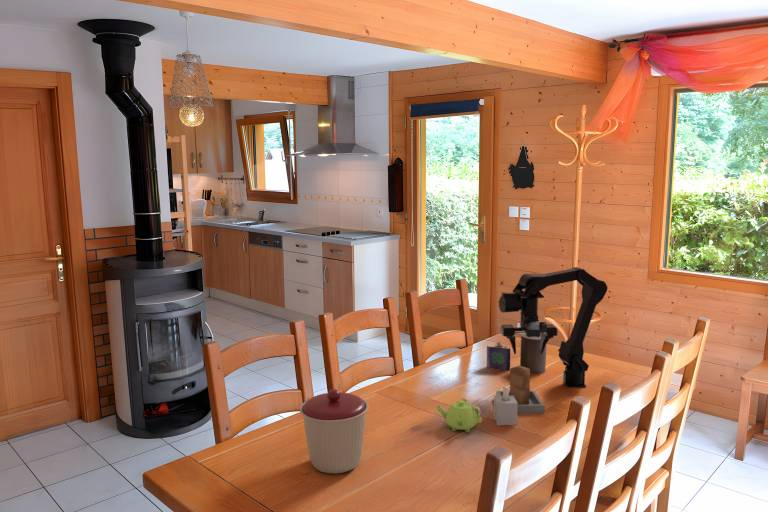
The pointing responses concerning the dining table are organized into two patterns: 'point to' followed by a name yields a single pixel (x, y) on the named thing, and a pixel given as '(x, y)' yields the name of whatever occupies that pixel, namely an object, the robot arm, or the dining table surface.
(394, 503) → the dining table surface
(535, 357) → the pillar candle
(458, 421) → the teapot
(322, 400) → the canister
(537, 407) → the tray
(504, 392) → the grey soap dispenser
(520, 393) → the walnut block
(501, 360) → the flask
